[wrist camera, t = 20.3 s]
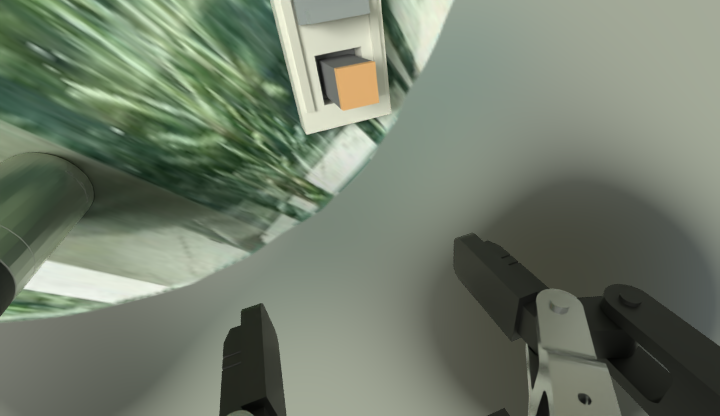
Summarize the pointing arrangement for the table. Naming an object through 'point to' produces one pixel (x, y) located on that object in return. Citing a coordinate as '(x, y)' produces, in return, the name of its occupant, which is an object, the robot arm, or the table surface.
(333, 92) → the plug
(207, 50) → the table surface
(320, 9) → the grey l-shaped block
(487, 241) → the robot arm
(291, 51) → the socket block
